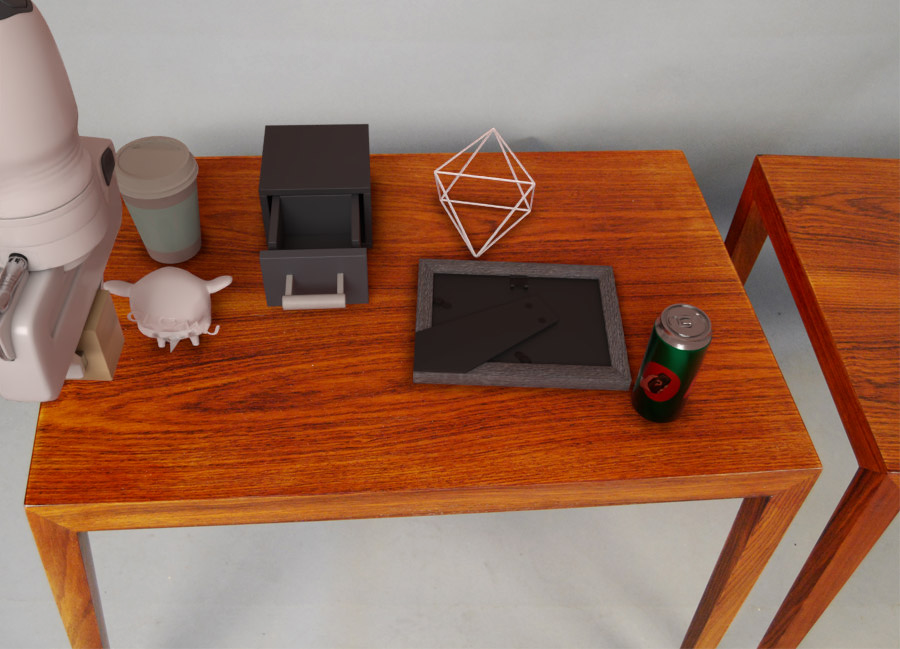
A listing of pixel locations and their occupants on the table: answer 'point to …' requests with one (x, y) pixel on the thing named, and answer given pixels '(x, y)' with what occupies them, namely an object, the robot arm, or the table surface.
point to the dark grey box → (317, 166)
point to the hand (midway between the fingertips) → (85, 343)
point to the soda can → (671, 363)
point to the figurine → (170, 304)
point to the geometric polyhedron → (484, 204)
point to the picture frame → (519, 325)
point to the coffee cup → (161, 196)
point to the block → (101, 339)
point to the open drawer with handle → (315, 253)
